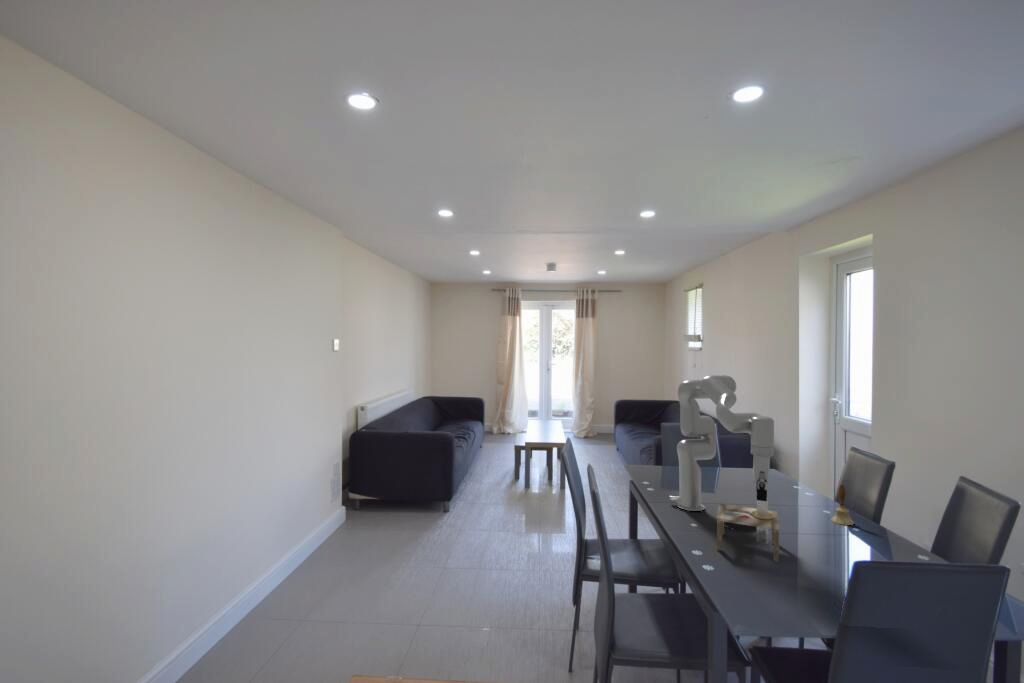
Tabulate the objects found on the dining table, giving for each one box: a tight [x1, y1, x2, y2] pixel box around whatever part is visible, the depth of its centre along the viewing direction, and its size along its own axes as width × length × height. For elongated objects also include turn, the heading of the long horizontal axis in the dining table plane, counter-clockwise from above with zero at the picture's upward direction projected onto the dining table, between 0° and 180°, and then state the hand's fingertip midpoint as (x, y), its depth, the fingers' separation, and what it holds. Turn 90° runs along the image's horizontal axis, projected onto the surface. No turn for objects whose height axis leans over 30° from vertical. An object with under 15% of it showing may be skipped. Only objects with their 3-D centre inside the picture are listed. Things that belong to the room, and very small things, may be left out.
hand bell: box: [830, 483, 855, 526], centre depth 198 cm, size 8×8×16 cm
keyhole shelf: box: [715, 502, 781, 563], centre depth 172 cm, size 20×18×12 cm
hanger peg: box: [752, 496, 773, 545], centre depth 170 cm, size 7×7×16 cm
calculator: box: [724, 511, 756, 532], centre depth 194 cm, size 11×4×15 cm
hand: (761, 496), depth 170 cm, fingers open, 9 cm apart
